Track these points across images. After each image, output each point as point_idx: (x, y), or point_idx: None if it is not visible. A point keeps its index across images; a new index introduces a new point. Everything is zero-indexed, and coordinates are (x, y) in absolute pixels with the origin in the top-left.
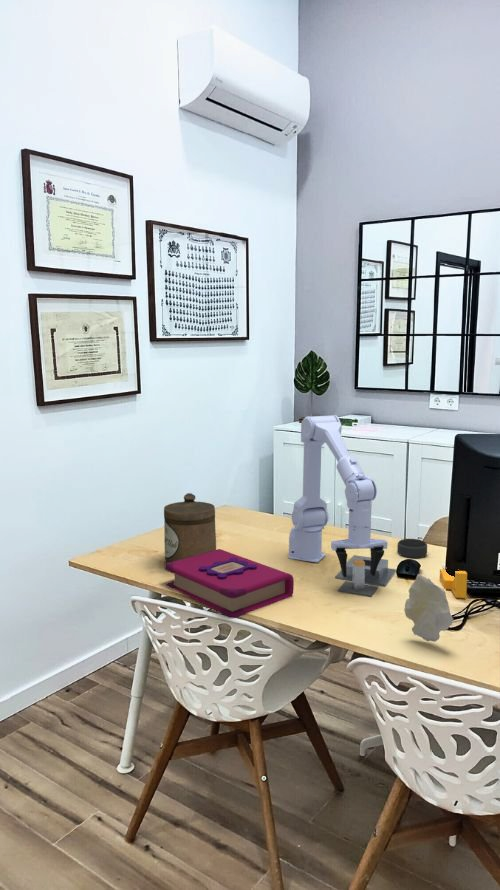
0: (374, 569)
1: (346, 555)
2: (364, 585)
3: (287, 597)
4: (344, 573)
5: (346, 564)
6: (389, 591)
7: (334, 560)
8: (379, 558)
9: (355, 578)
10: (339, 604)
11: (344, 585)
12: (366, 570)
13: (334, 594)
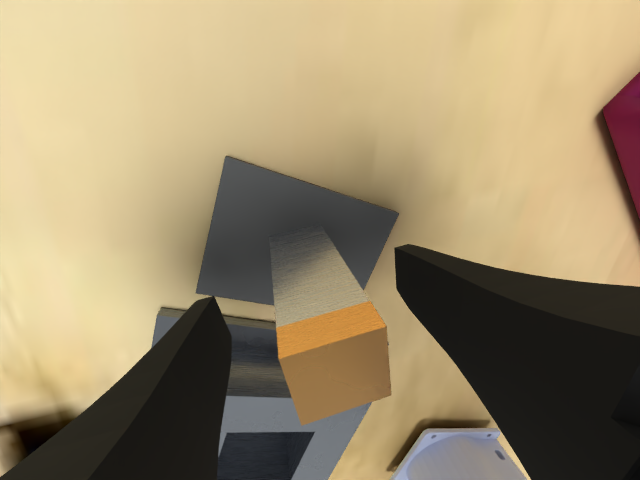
0: (183, 327)
1: (635, 326)
2: (267, 289)
3: (630, 88)
4: (422, 248)
5: (358, 415)
6: (126, 255)
7: (363, 462)
8: (34, 463)
9: (332, 250)
10: (416, 13)
11: (360, 271)
12: (259, 389)
13: (415, 171)
